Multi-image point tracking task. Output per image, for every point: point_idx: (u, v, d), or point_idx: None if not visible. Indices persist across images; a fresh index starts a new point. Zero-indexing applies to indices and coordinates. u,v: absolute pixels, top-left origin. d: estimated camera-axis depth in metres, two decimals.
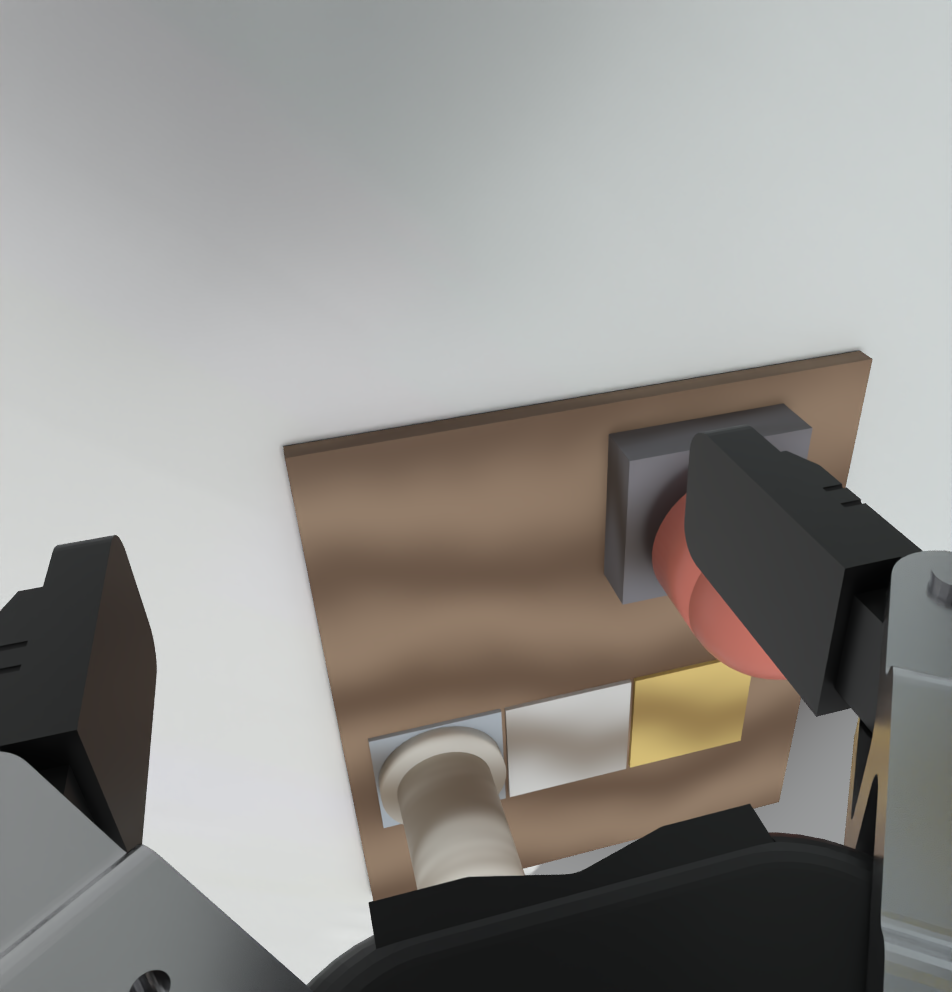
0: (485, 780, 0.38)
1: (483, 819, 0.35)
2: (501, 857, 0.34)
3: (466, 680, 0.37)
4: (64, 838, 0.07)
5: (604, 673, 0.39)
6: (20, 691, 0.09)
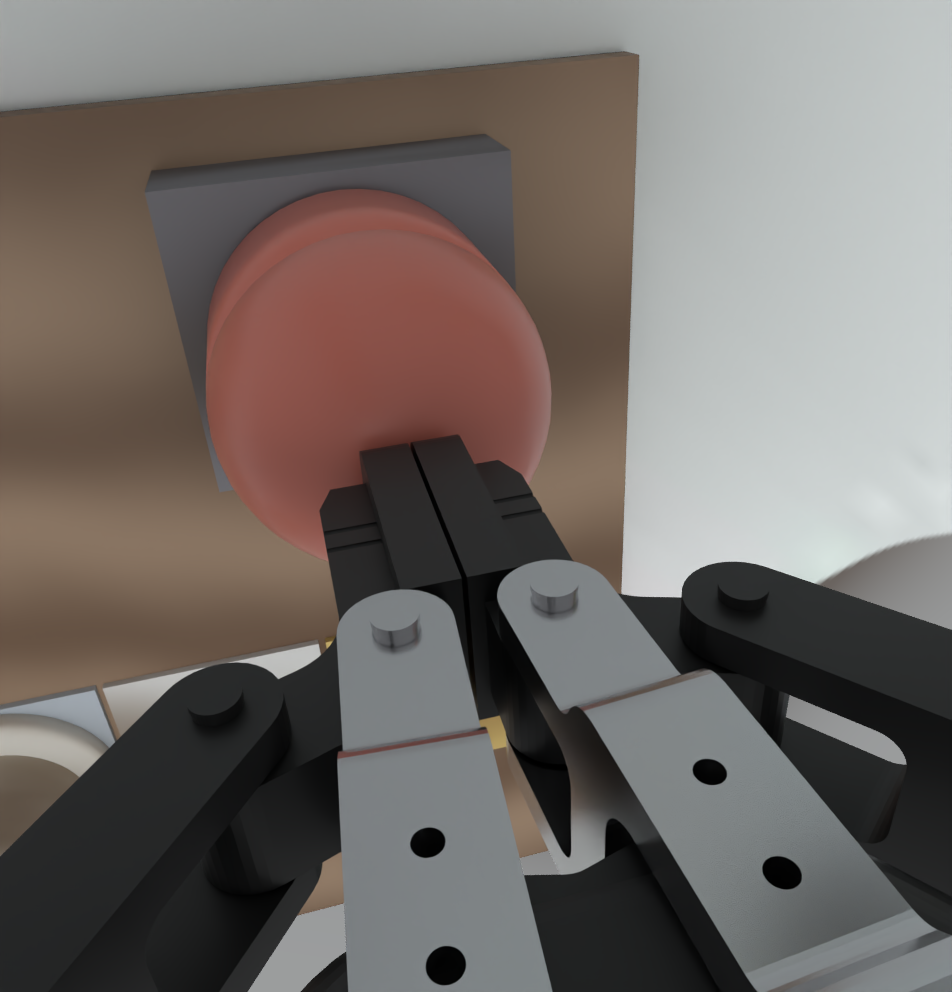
0: (48, 802, 0.23)
1: None
2: None
3: (15, 635, 0.23)
4: (447, 690, 0.08)
5: (269, 629, 0.25)
6: (395, 553, 0.10)
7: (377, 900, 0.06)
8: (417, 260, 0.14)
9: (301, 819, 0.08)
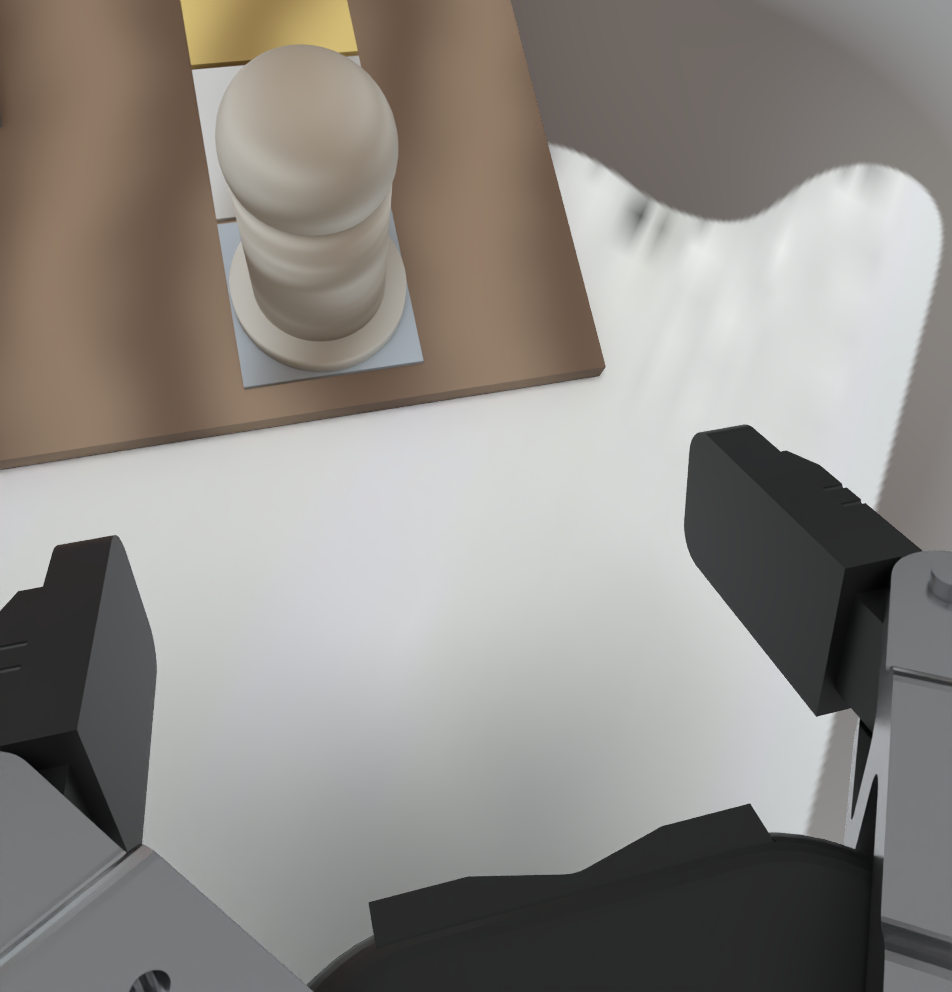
0: None
1: None
2: None
3: (157, 273, 0.29)
4: (64, 838, 0.07)
5: (177, 106, 0.31)
6: (20, 691, 0.09)
7: None
8: None
9: None
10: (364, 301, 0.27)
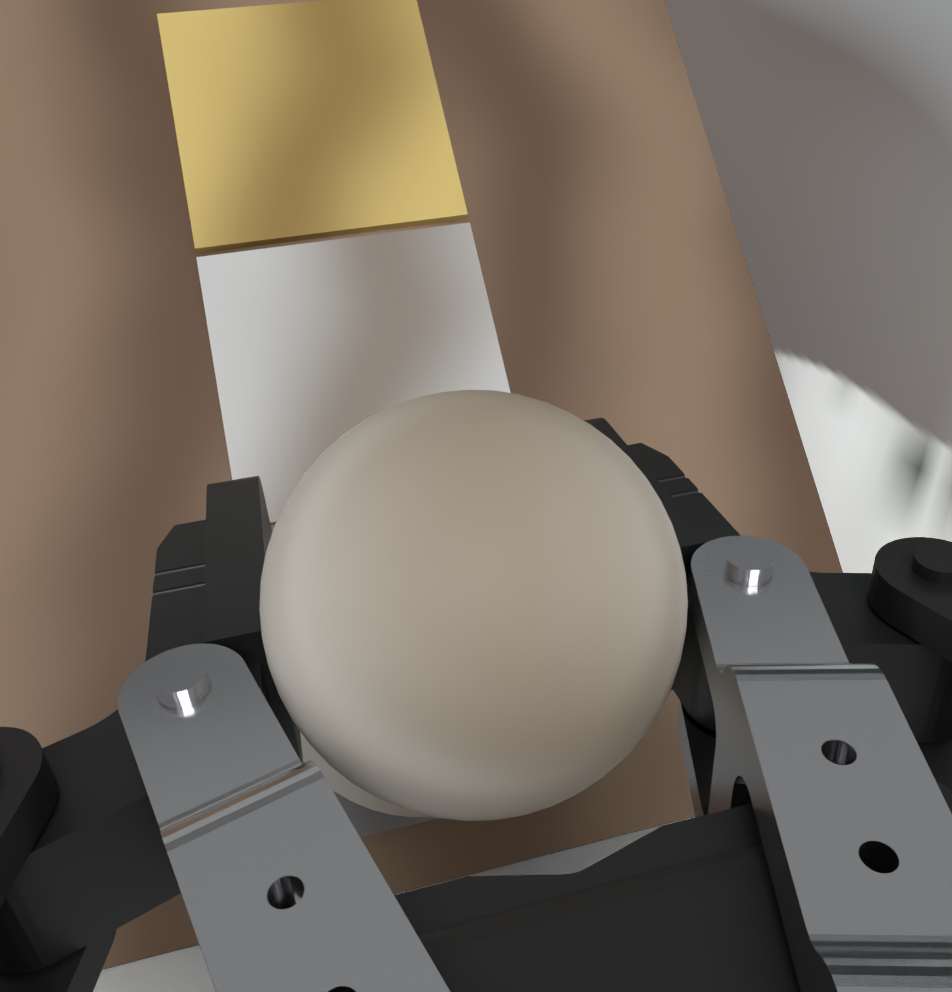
0: None
1: None
2: None
3: (139, 632, 0.17)
4: (257, 737, 0.08)
5: (172, 320, 0.18)
6: (209, 599, 0.10)
7: (249, 968, 0.06)
8: None
9: None
10: None
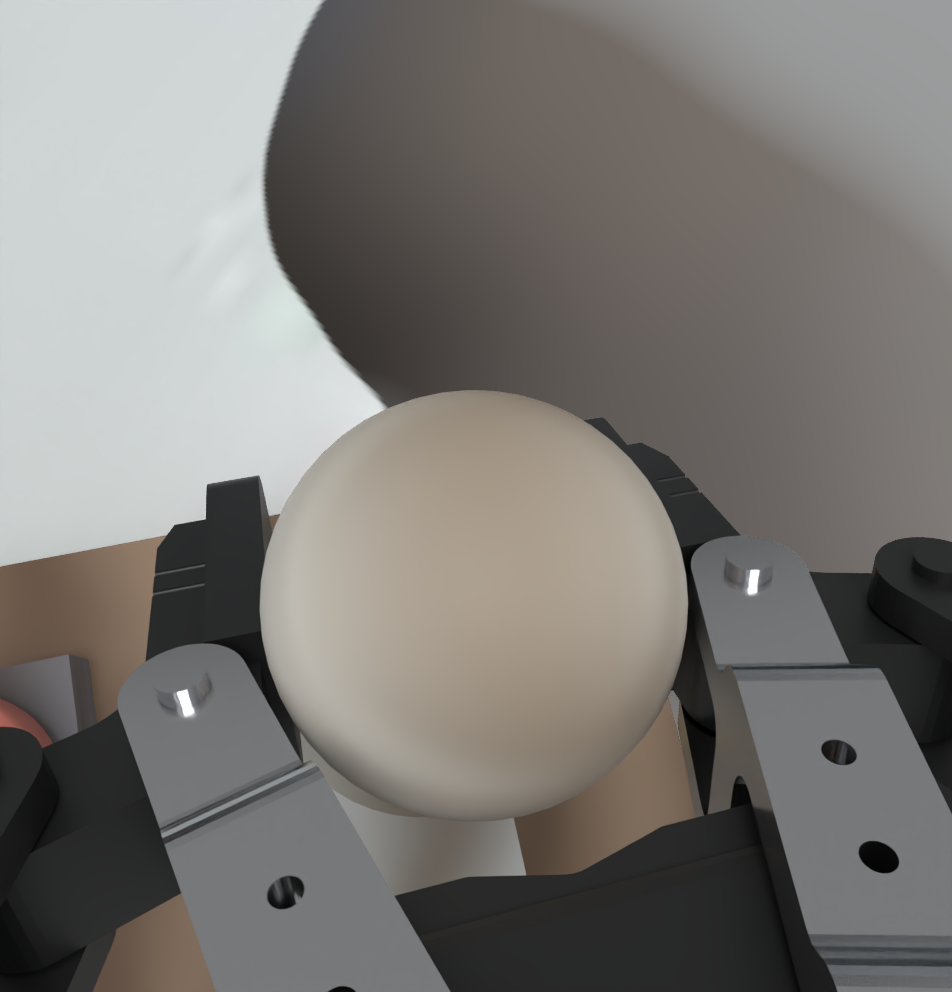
0: None
1: None
2: None
3: None
4: (257, 736, 0.08)
5: None
6: (210, 599, 0.10)
7: (249, 968, 0.06)
8: None
9: None
10: None
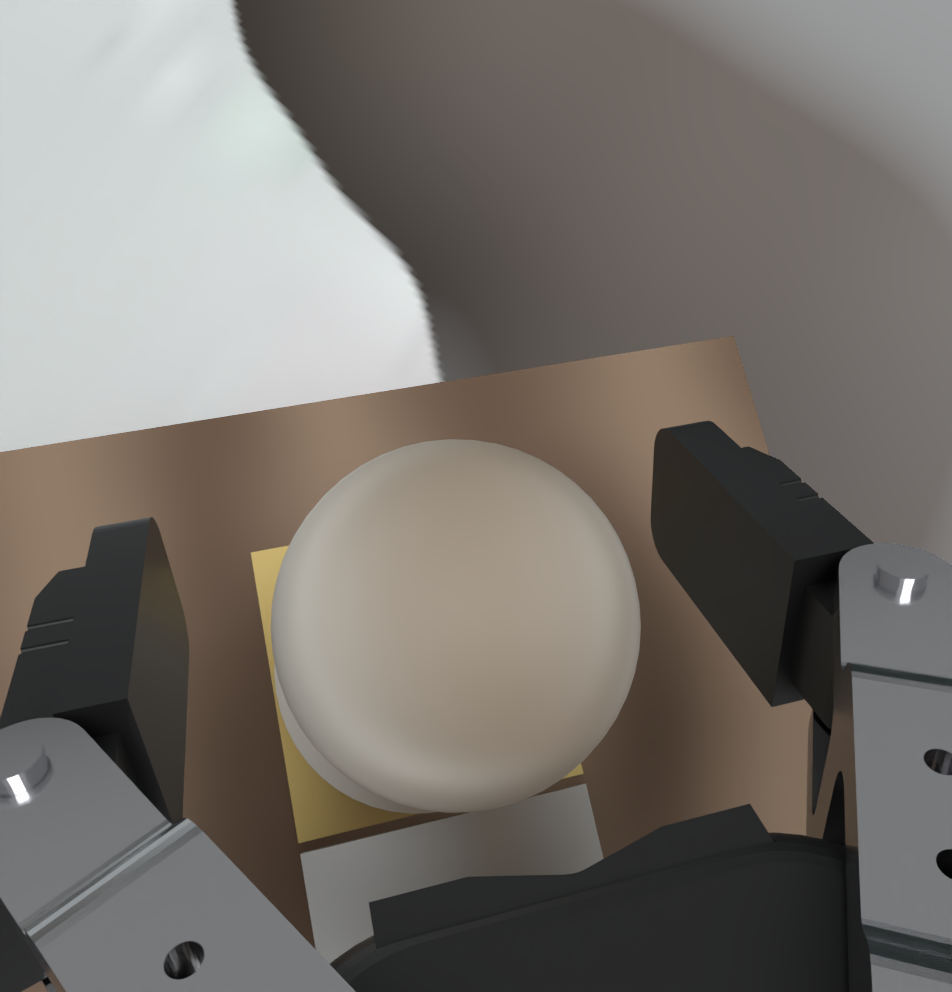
0: None
1: None
2: None
3: None
4: (115, 806, 0.07)
5: None
6: (70, 662, 0.09)
7: None
8: None
9: None
10: None
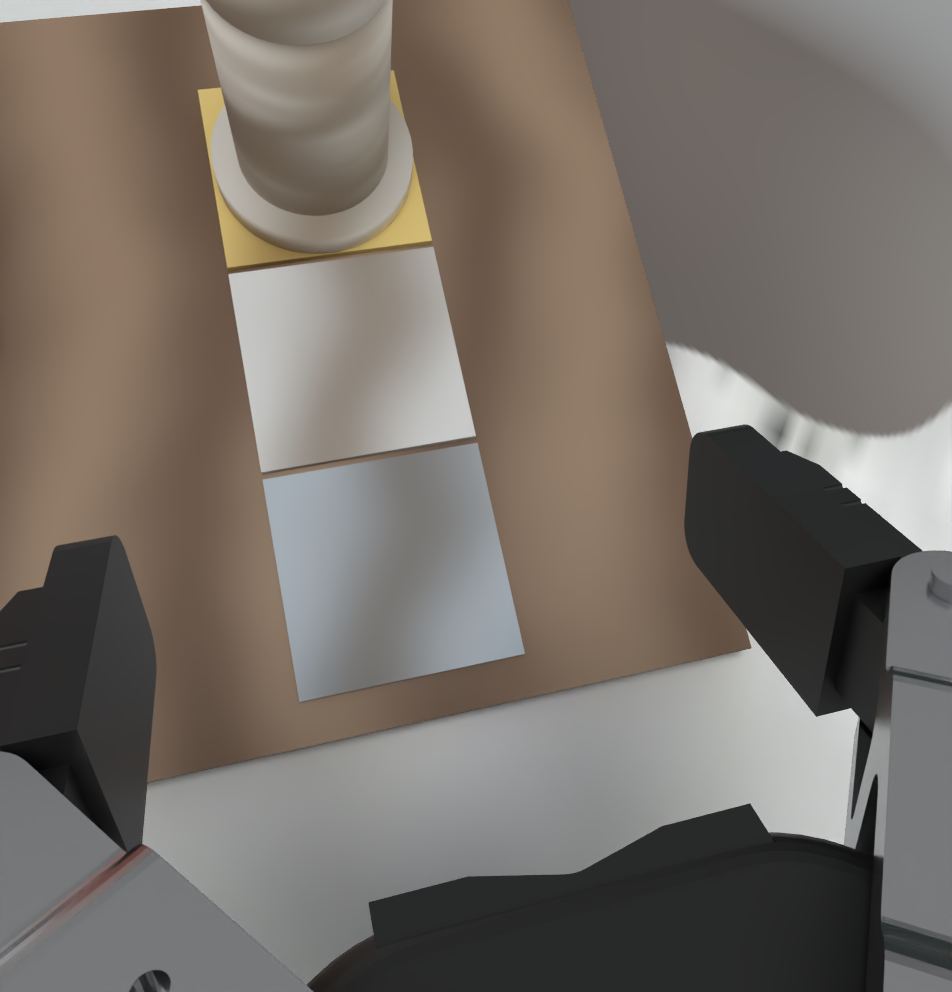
0: None
1: None
2: None
3: (188, 546, 0.23)
4: (64, 838, 0.07)
5: (210, 321, 0.24)
6: (20, 690, 0.09)
7: None
8: None
9: None
10: (363, 161, 0.23)
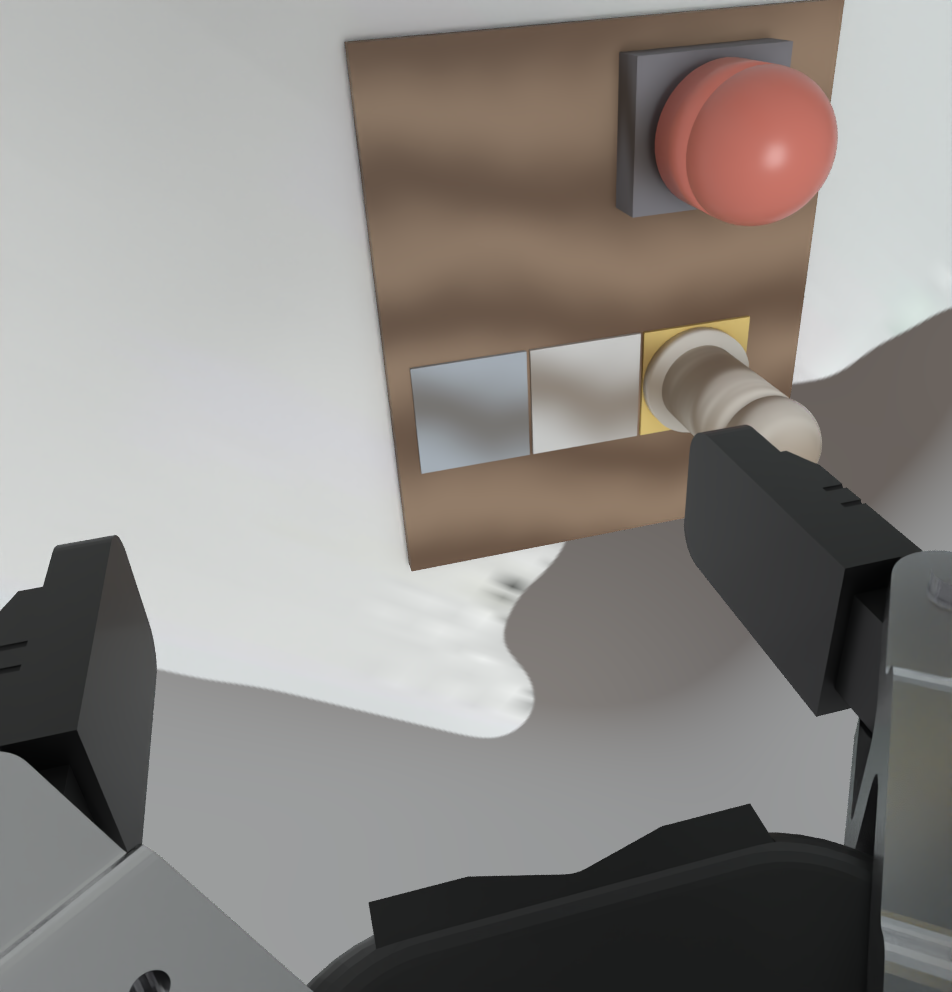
0: None
1: (754, 373, 0.43)
2: (777, 389, 0.41)
3: (496, 312, 0.43)
4: (64, 838, 0.07)
5: (616, 322, 0.44)
6: (20, 691, 0.09)
7: None
8: (795, 73, 0.33)
9: None
10: (681, 422, 0.45)
